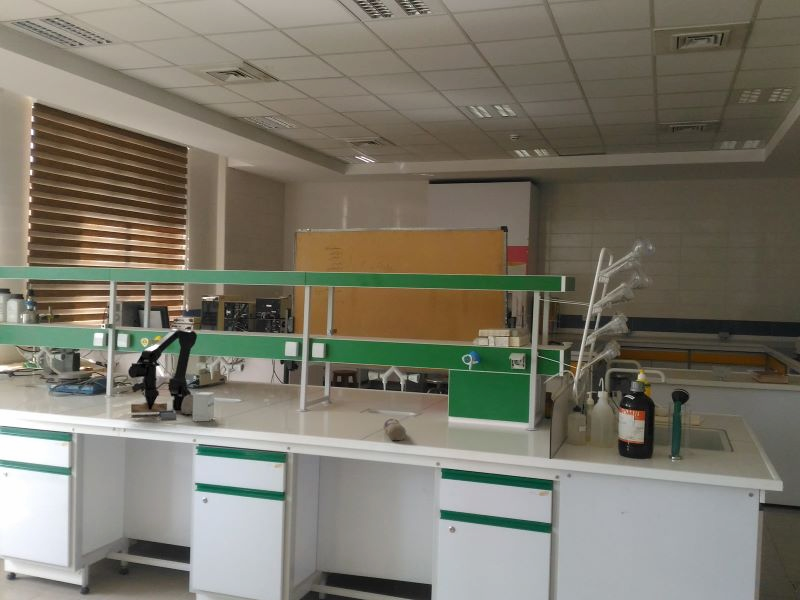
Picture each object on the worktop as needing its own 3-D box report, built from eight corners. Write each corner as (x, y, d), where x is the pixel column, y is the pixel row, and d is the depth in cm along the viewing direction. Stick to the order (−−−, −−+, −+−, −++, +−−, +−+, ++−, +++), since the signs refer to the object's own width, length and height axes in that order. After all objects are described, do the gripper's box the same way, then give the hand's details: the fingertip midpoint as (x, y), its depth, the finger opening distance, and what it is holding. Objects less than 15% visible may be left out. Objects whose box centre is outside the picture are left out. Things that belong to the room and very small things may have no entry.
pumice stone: (213, 414, 353) (214, 394, 353) (204, 417, 346) (205, 396, 346) (186, 412, 358) (186, 392, 358) (177, 414, 351) (177, 394, 350)
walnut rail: (166, 410, 353) (167, 402, 353) (166, 411, 349) (166, 403, 349) (131, 411, 349) (131, 403, 349) (131, 412, 345) (131, 404, 345)
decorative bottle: (406, 441, 302) (406, 425, 302) (388, 441, 301) (388, 425, 300) (397, 429, 327) (398, 414, 327) (381, 429, 326) (381, 414, 326)
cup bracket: (173, 416, 346) (173, 410, 346) (176, 419, 339) (176, 412, 339) (159, 417, 343) (159, 410, 343) (161, 419, 336) (161, 413, 336)
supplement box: (207, 422, 333) (207, 394, 333) (192, 421, 334) (192, 393, 334) (214, 419, 340) (214, 392, 340) (199, 418, 342) (200, 391, 341)
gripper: (129, 374, 354) (129, 406, 354) (133, 379, 337) (133, 412, 337) (154, 373, 358) (153, 405, 359) (159, 378, 342) (158, 411, 342)
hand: (149, 408), depth 349 cm, fingers closed on walnut rail, 4 cm apart
